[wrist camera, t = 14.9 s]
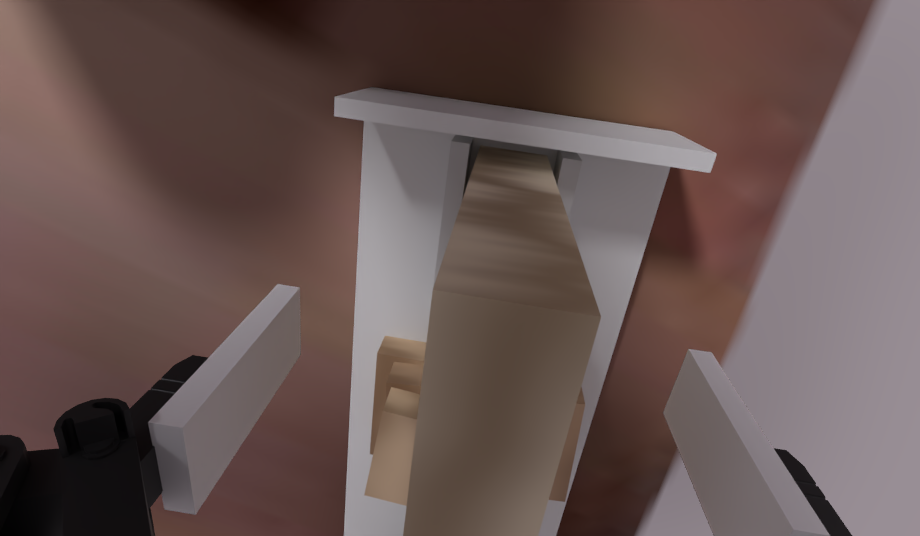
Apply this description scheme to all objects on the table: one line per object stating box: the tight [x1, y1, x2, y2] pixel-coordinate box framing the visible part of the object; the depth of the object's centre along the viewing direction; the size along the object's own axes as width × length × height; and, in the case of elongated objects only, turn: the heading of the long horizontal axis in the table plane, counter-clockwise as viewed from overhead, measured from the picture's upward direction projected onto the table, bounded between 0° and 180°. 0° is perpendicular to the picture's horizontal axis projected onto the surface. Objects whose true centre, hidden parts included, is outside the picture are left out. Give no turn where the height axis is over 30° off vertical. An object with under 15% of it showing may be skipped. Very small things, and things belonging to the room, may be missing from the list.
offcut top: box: [364, 387, 420, 506], centre depth 28 cm, size 9×6×2 cm
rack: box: [334, 87, 717, 536], centre depth 31 cm, size 16×37×6 cm, turn 172°
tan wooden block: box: [403, 145, 601, 536], centre depth 20 cm, size 4×10×17 cm, turn 172°
